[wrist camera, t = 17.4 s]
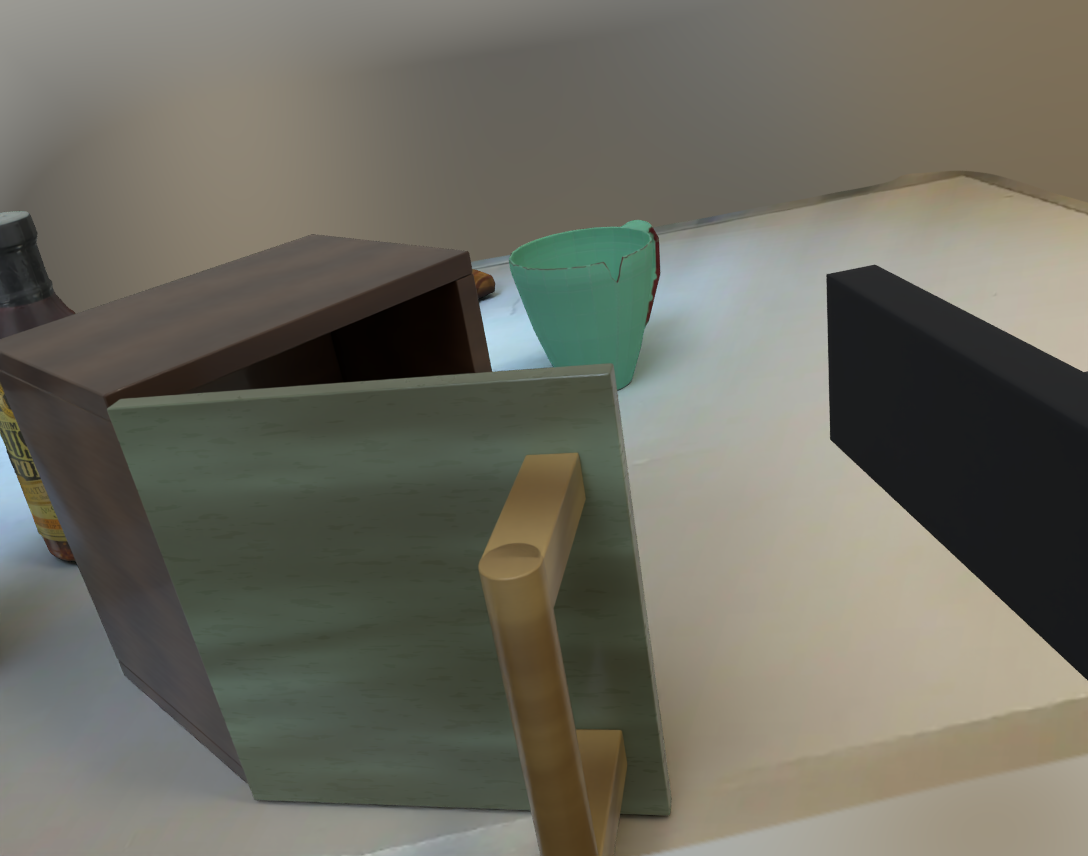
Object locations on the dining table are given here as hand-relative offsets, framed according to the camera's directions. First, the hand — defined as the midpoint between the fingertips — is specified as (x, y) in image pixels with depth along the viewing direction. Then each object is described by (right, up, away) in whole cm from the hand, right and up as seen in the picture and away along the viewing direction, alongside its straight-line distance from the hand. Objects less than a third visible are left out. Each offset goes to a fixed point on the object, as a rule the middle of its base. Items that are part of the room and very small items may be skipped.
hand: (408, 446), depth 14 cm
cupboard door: (-2, -15, +19) cm, 24 cm away
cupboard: (-8, -10, +33) cm, 35 cm away
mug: (+7, +4, +58) cm, 58 cm away
